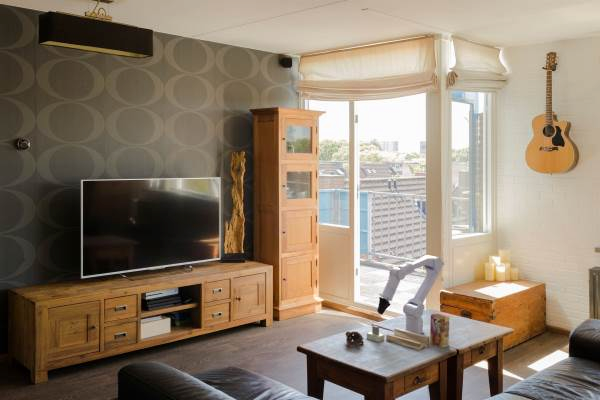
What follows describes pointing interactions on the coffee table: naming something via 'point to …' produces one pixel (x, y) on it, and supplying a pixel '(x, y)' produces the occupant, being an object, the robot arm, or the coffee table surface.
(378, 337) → the slab with grey handle
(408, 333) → the board
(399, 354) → the coffee table surface
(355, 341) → the pottery mug
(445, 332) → the candy box
